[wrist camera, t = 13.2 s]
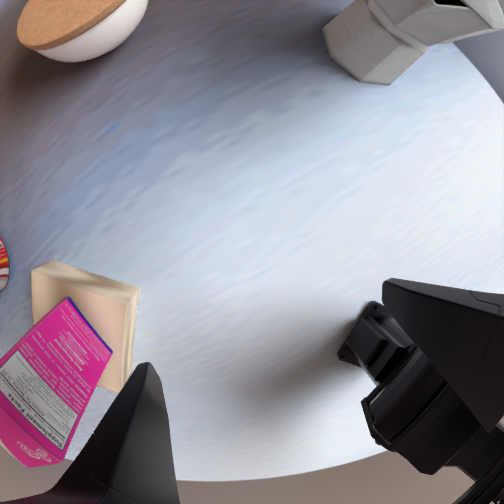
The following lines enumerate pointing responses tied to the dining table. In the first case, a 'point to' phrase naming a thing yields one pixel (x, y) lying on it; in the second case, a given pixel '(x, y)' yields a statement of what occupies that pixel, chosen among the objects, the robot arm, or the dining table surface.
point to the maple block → (92, 311)
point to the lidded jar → (78, 26)
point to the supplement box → (49, 385)
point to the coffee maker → (402, 32)
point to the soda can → (3, 266)
